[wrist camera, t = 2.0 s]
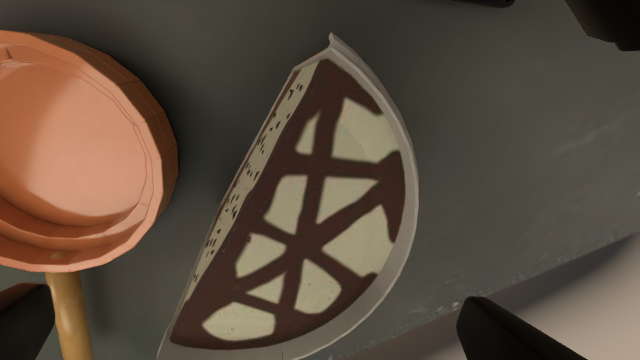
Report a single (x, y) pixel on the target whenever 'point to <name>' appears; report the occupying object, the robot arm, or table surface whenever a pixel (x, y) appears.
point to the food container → (304, 222)
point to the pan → (76, 155)
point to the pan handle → (70, 313)
